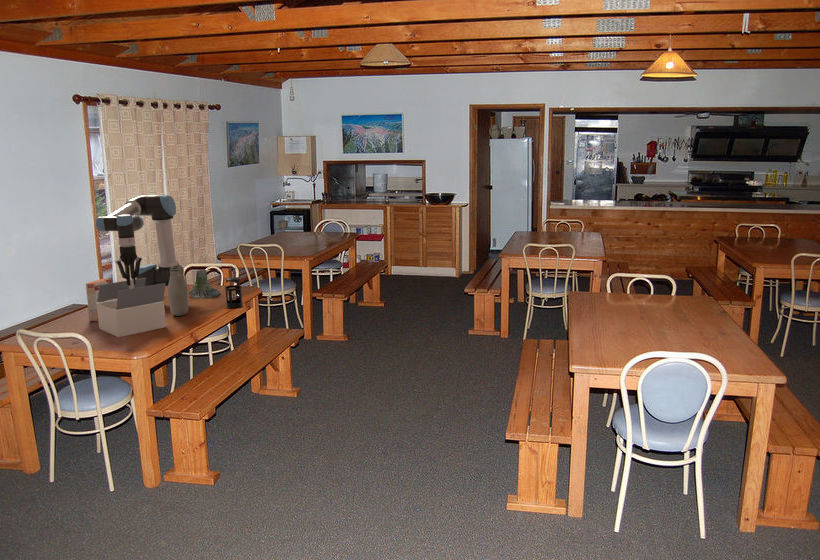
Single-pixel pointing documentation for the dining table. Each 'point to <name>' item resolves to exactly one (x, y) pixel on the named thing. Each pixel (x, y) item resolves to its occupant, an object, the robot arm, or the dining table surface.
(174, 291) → the grey bottle
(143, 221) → the robot arm
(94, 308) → the cracker box
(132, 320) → the carton
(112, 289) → the flap
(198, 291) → the tree stump
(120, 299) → the flap
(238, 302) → the black lantern
